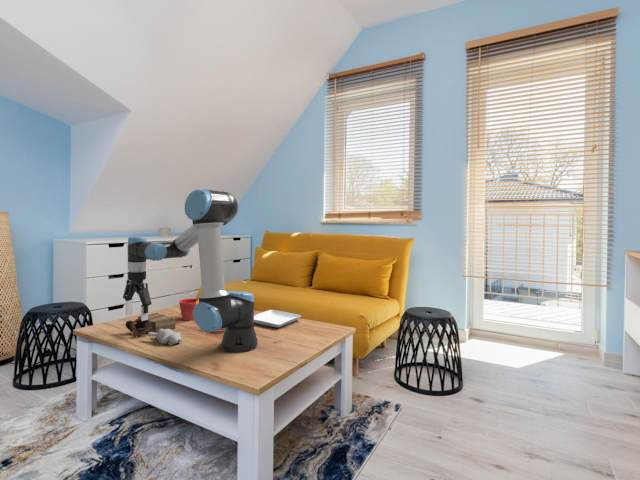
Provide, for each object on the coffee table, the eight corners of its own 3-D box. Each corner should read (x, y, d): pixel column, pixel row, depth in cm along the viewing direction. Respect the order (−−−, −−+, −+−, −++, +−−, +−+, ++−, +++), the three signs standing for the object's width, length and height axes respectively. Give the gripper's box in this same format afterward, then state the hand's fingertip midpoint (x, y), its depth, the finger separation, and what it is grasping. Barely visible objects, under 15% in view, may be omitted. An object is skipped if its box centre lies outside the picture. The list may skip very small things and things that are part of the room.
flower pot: (205, 318, 200) (205, 300, 199) (188, 322, 190) (188, 303, 190) (191, 315, 205) (192, 297, 205) (174, 319, 196) (174, 301, 195)
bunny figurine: (169, 338, 153) (145, 328, 160) (168, 350, 154) (144, 340, 160) (187, 332, 161) (163, 323, 168) (186, 344, 162) (162, 334, 169)
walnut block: (175, 328, 180) (175, 318, 180) (155, 333, 172) (155, 322, 171) (157, 322, 189) (157, 312, 189) (137, 326, 181) (137, 316, 181)
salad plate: (278, 331, 181) (279, 324, 181) (245, 324, 192) (245, 317, 191) (302, 321, 199) (302, 314, 199) (270, 315, 210) (270, 309, 210)
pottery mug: (154, 331, 176) (155, 318, 172) (145, 346, 168) (145, 333, 164) (129, 324, 176) (130, 311, 172) (118, 339, 167) (118, 326, 163)
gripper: (160, 273, 164) (159, 320, 165) (131, 267, 179) (131, 310, 180) (143, 275, 158) (143, 324, 159) (115, 268, 173) (114, 313, 174)
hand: (136, 317), depth 170 cm, fingers open, 13 cm apart
